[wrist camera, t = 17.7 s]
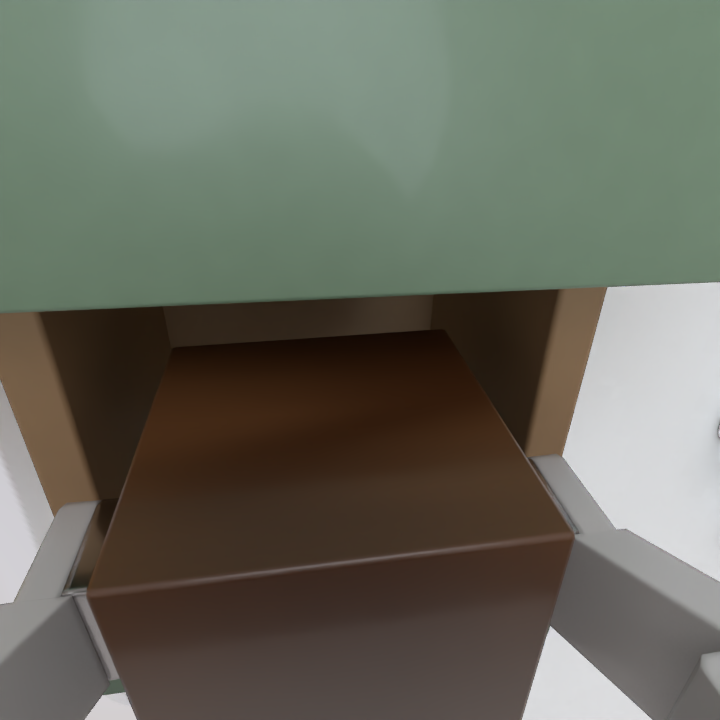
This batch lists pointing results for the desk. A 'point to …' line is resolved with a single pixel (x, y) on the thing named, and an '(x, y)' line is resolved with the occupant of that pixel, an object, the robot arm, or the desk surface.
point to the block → (328, 539)
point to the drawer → (267, 323)
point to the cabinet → (353, 148)
